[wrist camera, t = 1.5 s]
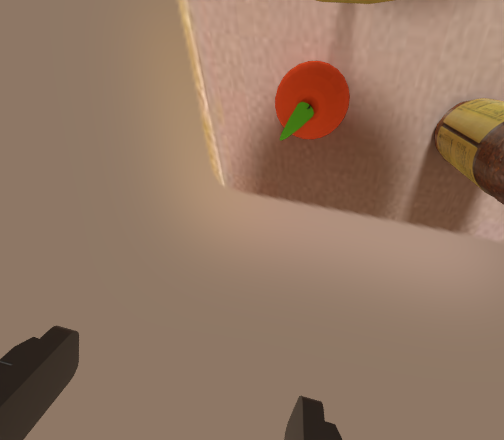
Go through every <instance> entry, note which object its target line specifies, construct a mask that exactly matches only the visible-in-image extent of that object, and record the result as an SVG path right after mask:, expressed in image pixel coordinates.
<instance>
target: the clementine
mask: <svg viewBox="0 0 504 440" xmlns="http://www.w3.org/2000/svg"><path fill="white" fill-rule="evenodd" d="M349 98H350V96H349V88H348V85H347V83H346V80H345V78H344V76H343V75H342V74H341V73H340V72H339V70H338V69H336V68H335V67H333V66H332V65H330V64H328V63H325V62H321V61H308V62H305V63H301V64H299V65H297V66H296V67H294V68H292V69H291V70H290V71H289V72H288V73H287V74H286V75H285V76H284V77H283V79H282V81H281V83H280V85H279V86H278V90H277V94H276V97H275V108H276V113H277V117H278V119H279V121H280V123H281V125H282V126H283V127H284V130H283V132H282V134H281V136H280V140H284V139H286V138H287V137H289V136H290V135H294V136H296V137H299V138H302V139H316V138H321V137H323V136H325V135H327V134H329V133H331V132H332V131H333V130H334V129H335V128H337V127H338V126H339V124H340V123H341V121H342V120H343V119H344V117H345V115H346V112H347V110H348V106H349Z"/></svg>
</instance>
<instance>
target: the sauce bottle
mask: <svg viewBox="0 0 504 440" xmlns="http://www.w3.org/2000/svg"><path fill="white" fill-rule="evenodd" d="M435 144H436V148H437V150H438V151H439V152H440V153H441V155H442V156H443V158H444V159H446V160H447V161H448V162H449V163H450V164H452V165H453V166H454V167H455V168H456V169H458V170H459V171H460V172H461V173H463V174H464V175H465V176H466V177H467V178H469V179H470V180H471V181H472V182H473V183H475V184H476V185H477V186H478V187H479V188H481V189H482V190H483V191H484V192H486V193H487V194H489V195H491V196H493V197H494V198H496V199H497V200H498V201H499V202H501V203H502V204H504V102H503V101H499V100H494V99H486V98H481V99H476V100H471V101H466V102H462V103H459V104H457V105H456V106H455V107H453V108H452V109H450V110H449V111H448V112H447V113H446V114H445V115H444V116H443V118H442V119H441V120H440V121H439V123H438V124H437V127H436V130H435Z"/></svg>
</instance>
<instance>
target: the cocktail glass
mask: <svg viewBox="0 0 504 440" xmlns="http://www.w3.org/2000/svg"><path fill="white" fill-rule="evenodd" d="M317 1H321V2H339V3H361V4H371V3H379V2H386V1H393V0H317Z"/></svg>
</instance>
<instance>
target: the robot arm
mask: <svg viewBox="0 0 504 440" xmlns="http://www.w3.org/2000/svg"><path fill="white" fill-rule="evenodd" d="M78 362H79V333H78V332H77V331H74V330H71V329H67V328H63V327H60V326H54V327H52V328H51V329H50V330H49V331H48V332H46V333H45V334H44V335H43V336H42V337H41V338H40V339H38V338H35V337H32V338H30V339H28V340H26V341H25V342H23V343H21V344H19V345H17V346H15V347H14V348H12V349H11V350H10V351H9V352H8V353H7V354H6V355H5V356H3V357H2V358H1V359H0V440H23V439H24V438H25V437H26V436H27V434H28V433H29V432H30V431H31V429H32V428H33V427H34V426H35V424H36V423H37V422H38V420H39V419H40V418H41V417H42V416H43V414H44V413H45V412H46V410H47V409H48V408H49V407H50V405H51V404H52V403H53V402H54V400H55V399H56V398H57V397H58V396H59V394H60V393H61V392H62V391H63V389H64V388H65V387H66V385H67V384H68V383H69V382H70V380H71V379H72V377H73V376H74V374H75V372H76V369H77V367H78ZM284 440H342V438H341V436H340V434H339V432H338V430H337V428H336V425H335V424H332V423H329V422H325V420H324V409H323V404H322V402H321V401H317V400H314V399H310V398H307V397H303V396H299V398H298V400H297V403H296V405H295V407H294V409H293V412H292V414H291V417H290V419H289V421H288V424H287V428H286V432H285V439H284Z"/></svg>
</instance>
